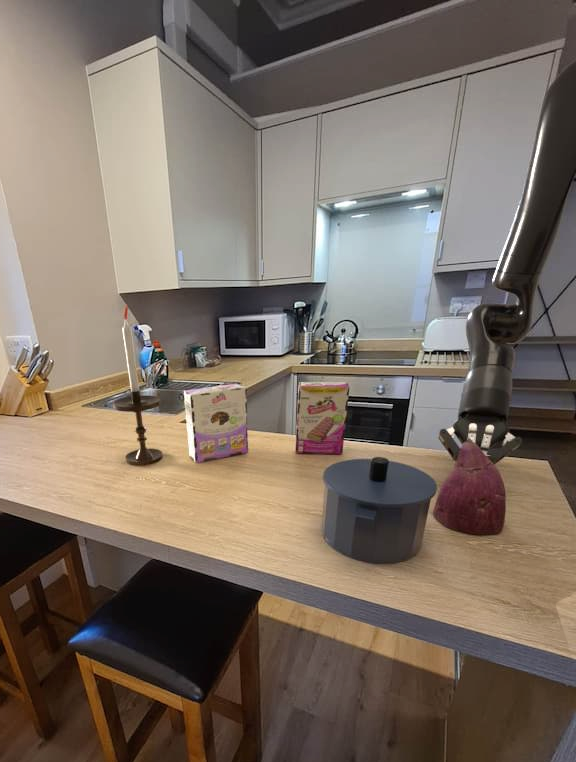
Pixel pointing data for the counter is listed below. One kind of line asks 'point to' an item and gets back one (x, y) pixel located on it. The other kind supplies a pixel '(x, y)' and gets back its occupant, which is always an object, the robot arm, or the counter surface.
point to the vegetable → (472, 494)
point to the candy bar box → (321, 417)
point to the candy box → (216, 422)
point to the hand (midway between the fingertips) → (470, 483)
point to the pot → (373, 529)
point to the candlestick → (137, 405)
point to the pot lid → (379, 482)
